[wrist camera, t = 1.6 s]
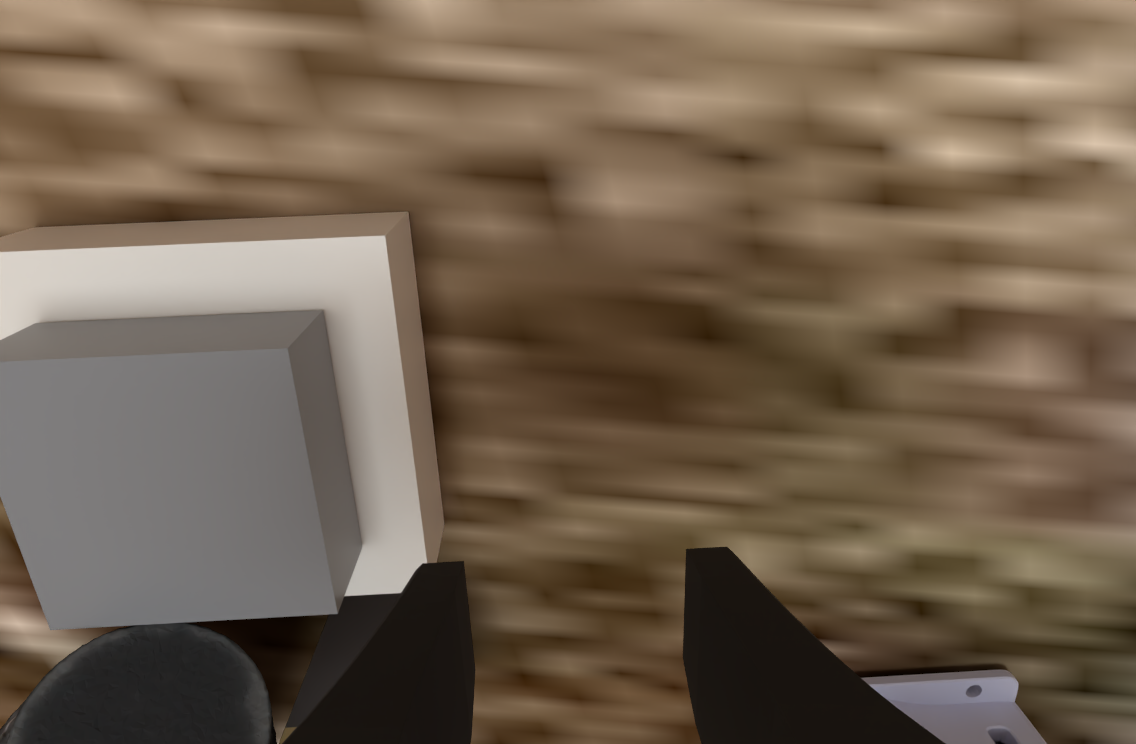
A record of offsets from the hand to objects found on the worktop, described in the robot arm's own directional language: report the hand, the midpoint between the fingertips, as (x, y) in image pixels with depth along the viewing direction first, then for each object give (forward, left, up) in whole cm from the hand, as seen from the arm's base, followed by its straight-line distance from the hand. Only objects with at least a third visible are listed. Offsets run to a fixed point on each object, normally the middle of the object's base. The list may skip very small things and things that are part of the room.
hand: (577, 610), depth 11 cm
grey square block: (+8, 0, -6) cm, 10 cm away
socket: (+8, 0, -9) cm, 12 cm away
